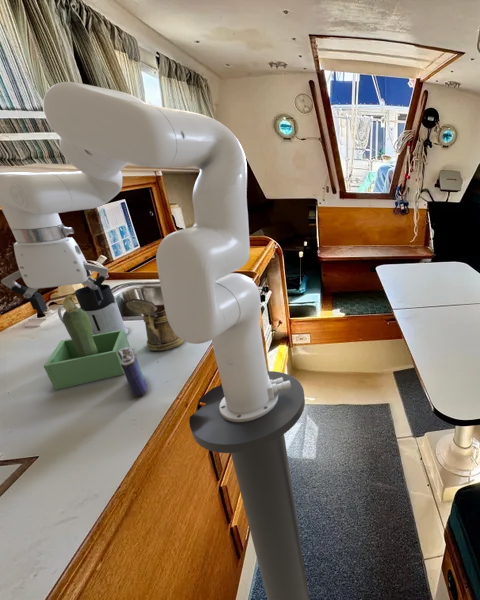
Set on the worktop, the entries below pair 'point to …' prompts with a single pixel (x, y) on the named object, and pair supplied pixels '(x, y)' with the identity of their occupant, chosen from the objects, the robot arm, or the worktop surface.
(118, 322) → the travel mug
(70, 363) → the veg bin
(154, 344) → the wooden mug
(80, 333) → the vegetable
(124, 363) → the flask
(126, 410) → the worktop surface
